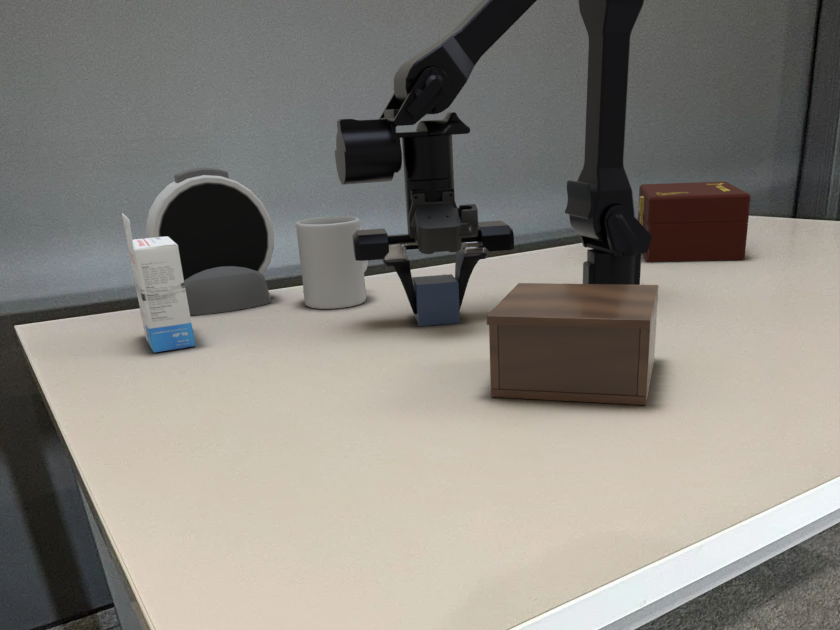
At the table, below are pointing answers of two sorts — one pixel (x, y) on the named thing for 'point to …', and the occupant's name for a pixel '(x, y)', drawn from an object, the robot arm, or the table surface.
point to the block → (436, 300)
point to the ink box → (160, 291)
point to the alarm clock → (216, 239)
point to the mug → (330, 262)
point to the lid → (577, 306)
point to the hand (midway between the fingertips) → (436, 311)
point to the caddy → (572, 363)
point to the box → (694, 221)
